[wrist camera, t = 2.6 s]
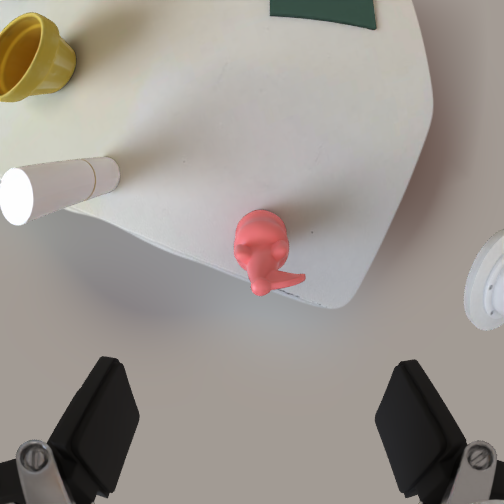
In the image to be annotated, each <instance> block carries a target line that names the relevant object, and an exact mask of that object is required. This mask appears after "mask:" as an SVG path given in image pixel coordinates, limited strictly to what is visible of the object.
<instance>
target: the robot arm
mask: <svg viewBox="0 0 504 504" xmlns="http://www.w3.org/2000/svg"><path fill="white" fill-rule="evenodd" d="M483 308H484V311H485V312H486V314H487V315H488V316H490V317H491V318H493V319H499V318H502V317H504V254H503V255H501V256H500V258H499V259H498V260H497V261H496V263H495V264H494V266H493V267H492V269H491V271H490V273H489V275H488V278H487V280H486V283H485V286H484V291H483ZM138 422H139V411H138V409H137V406H136V403H135V400H134V397H133V394H132V391H131V388H130V385H129V382H128V378H127V375H126V372H125V369H124V366H123V364H122V363H120V362H119V360H118V359H116V358H111V357H104V356H102V357H100V359H99V360H98V362H97V363H96V365H95V366H94V368H93V369H92V371H91V372H90V374H89V376H88V377H87V379H86V380H85V382H84V384H83V385H82V387H81V388H80V389H79V390H78V391H77V393H76V395H75V396H74V397H73V399H72V401H71V402H70V404H69V406H68V407H67V409H66V411H65V413H64V414H63V416H62V418H61V419H60V421H59V423H58V424H57V426H56V428H55V429H54V431H53V433H52V435H51V436H50V438H49V440H48V442H47V444H46V443H45V442H42V441H40V440H29V441H27V442H25V443H23V444H22V445H21V446H20V447H19V449H18V450H17V454H16V459H13V460H10V461H6V462H2V463H0V504H95V503H94V500H95V497H96V495H99V496H102V497H105V498H108V496H109V493H113V492H114V490H115V488H116V485H117V482H118V479H119V476H120V473H121V470H122V467H123V464H124V461H125V458H126V456H127V453H128V450H129V447H130V444H131V442H132V439H133V436H134V433H135V431H136V428H137V425H138ZM375 423H376V426H377V429H378V431H379V434H380V437H381V439H382V442H383V445H384V448H385V450H386V453H387V456H388V459H389V462H390V464H391V468H392V470H393V473H394V476H395V479H396V482H397V485H398V488H399V491H400V492H401V493H404V495H405V498H409V497H412V496H415V495H418V496H419V498H420V502H419V504H504V462H502V461H499V460H497V454H496V451H495V449H494V448H493V446H491V445H490V444H489V443H487V442H484V441H474V442H472V443H470V444H468V445H467V443H466V439H465V437H464V435H463V434H462V432H461V430H460V428H459V427H458V425H457V423H456V422H455V420H454V418H453V416H452V415H451V413H450V411H449V410H448V408H447V407H446V405H445V403H444V402H443V400H442V398H441V397H440V395H439V394H438V392H437V390H436V389H435V387H434V386H433V384H432V383H431V381H430V379H429V378H428V376H427V375H426V373H425V372H424V370H423V369H422V367H421V366H420V364H419V363H418V361H417V360H408V361H401V362H400V363H399V365H398V366H396V367H395V368H394V371H393V373H392V376H391V379H390V381H389V384H388V386H387V389H386V391H385V394H384V396H383V399H382V401H381V403H380V406H379V408H378V410H377V413H376V415H375Z"/></svg>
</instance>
